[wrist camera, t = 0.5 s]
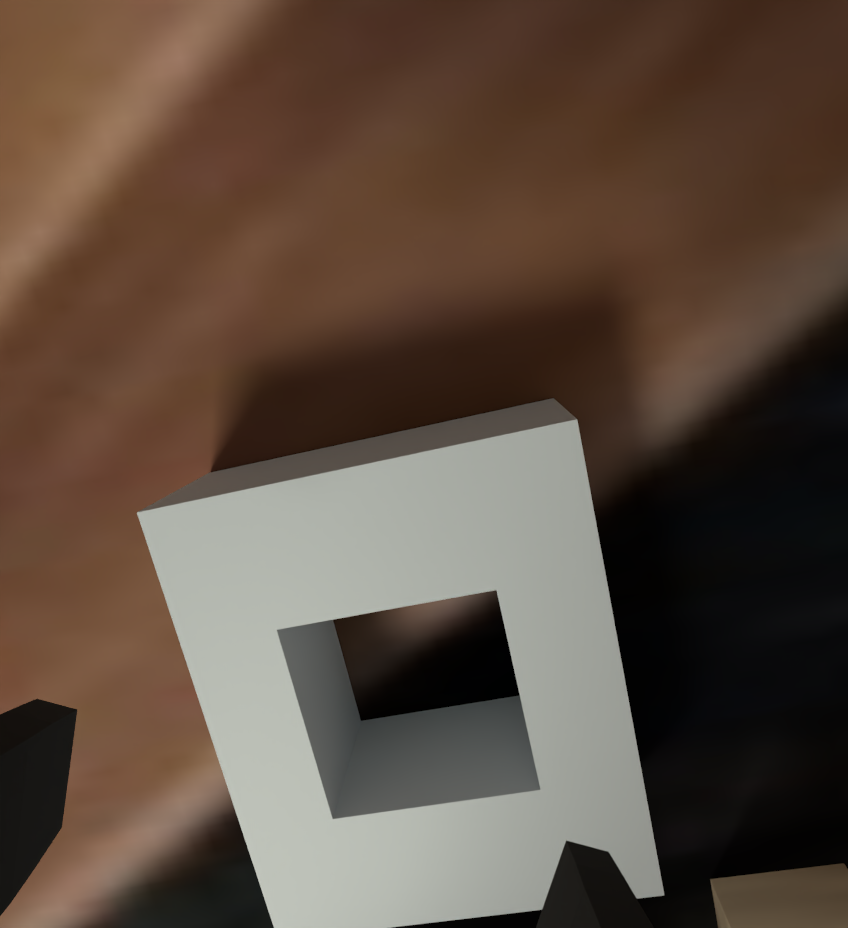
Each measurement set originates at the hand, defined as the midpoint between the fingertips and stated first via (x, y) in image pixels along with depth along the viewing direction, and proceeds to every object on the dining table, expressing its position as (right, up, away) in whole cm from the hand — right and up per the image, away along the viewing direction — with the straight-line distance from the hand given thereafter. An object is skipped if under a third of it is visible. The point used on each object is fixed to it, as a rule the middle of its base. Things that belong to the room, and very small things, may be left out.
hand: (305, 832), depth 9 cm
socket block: (+2, 0, +10) cm, 10 cm away
